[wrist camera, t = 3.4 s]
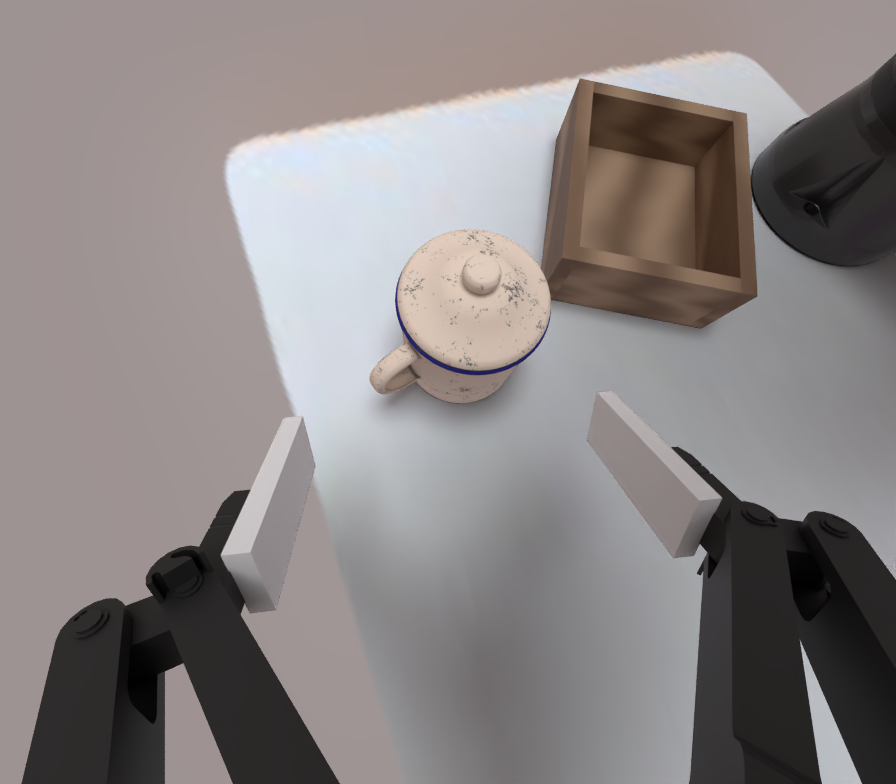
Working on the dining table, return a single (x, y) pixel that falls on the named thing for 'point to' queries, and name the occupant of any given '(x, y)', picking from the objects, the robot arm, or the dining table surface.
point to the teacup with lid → (465, 316)
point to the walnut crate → (650, 207)
